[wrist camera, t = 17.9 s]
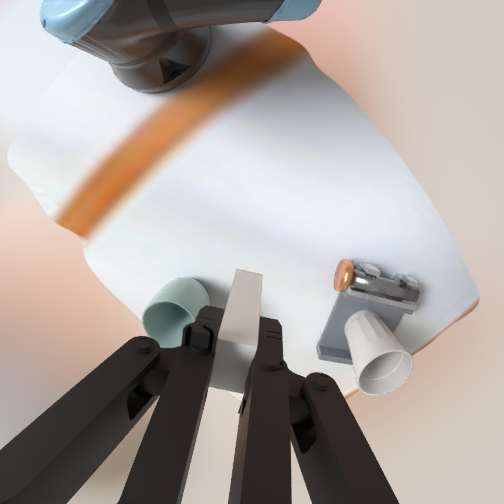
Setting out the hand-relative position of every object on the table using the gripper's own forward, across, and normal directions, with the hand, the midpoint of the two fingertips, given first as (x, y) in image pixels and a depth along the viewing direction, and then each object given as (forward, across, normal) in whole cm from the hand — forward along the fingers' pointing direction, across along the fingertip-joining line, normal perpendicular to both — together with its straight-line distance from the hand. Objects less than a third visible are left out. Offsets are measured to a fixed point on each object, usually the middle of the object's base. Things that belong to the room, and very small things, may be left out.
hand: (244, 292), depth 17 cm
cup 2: (+23, +20, -14) cm, 33 cm away
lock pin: (+22, +19, -6) cm, 30 cm away
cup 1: (+24, -8, -15) cm, 29 cm away
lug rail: (+24, +21, -6) cm, 32 cm away
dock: (+23, +20, -14) cm, 34 cm away
